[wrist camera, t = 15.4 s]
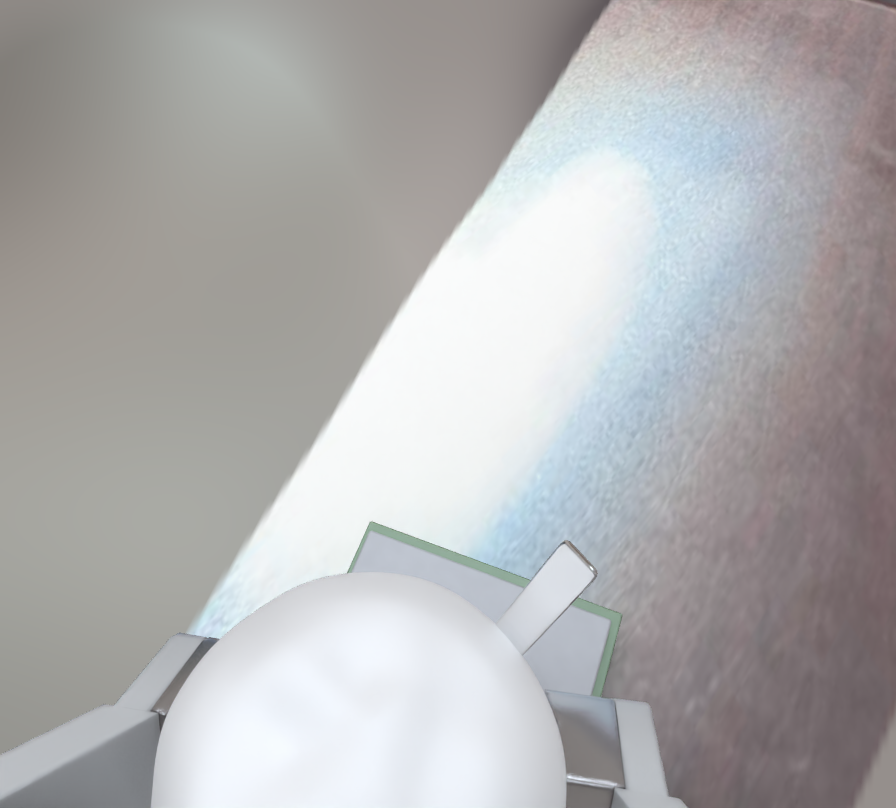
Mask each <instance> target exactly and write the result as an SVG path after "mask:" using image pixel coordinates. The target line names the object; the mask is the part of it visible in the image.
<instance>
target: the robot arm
mask: <svg viewBox="0 0 896 808" xmlns="http://www.w3.org/2000/svg"><path fill="white" fill-rule="evenodd" d="M218 640H219V639H216V638H211V637H209V638H206V637H201V636H196V635H190V634H184V633H178V634H176V635H173V636H172V637H170V639H168V641H167V642H166V643H165V645H163V647H162V648H161V649H160V650H159V651H158V653H157V654H156V655H155V656H154V657H153V659H152V660H151V661H150V662H149V663H148V665H147V666H146V667H145V668H144V669H143V671H142V672H141V673H140V674H139V675H138V677H137V678H136V679H135V680H134V681H133V683H132V684H131V685H130V686H129V687H128V689H127V690H126V691H125V692H124V693H123V694H122V696H121V697H120V698H119V699H118V700H117V702H116V703H115V704H114V705H106V704H103V705H101V706H99V707H97V708H95V709H93V710H91V711H89V712H87V713H85V714H83V715H81V716H79V717H76V718H74V719H73V720H70V721H68V722H66V723H64V724H62V725H60V726H58V727H56V728H54V729H52V730H50V731H48V732H46V733H44V734H42V735H40V736H37V737H36V738H33V739H31V740H29V741H27V742H25V743H23V744H21V745H19V746H17V747H15V748H13V749H11V750H9V751H7V752H5V753H3V754H1V755H0V808H151V798H152V787H153V776H154V766H155V758H156V752H157V747H158V742H159V738H160V734H161V730H162V727H163V724H164V721H165V718H166V716H167V714H168V711H169V709H170V707H171V705H172V703H173V701H174V699H175V698H176V696H177V694H178V692H179V691H180V689H181V687H182V686H183V684H184V683H185V681H186V680H187V678H188V676H189V675H190V674H191V672H192V671H193V669H194V668H195V667H196V665H197V664H198V663H199V661H200V660H201V659H202V658H203V657H204V655H205V654H206V653H207V652H208V651H209V650H210V649H211V648H212V646H213V645H214V644H215V643H216V642H217V641H218ZM544 693H545V695H546V697H547V699H548V702H549V704H550V706H551V709H552V711H553V714H554V717H555V719H556V723H557V726H558V729H559V733H560V736H561V741H562V745H563V751H564V757H565V766H566V808H688V807H687V806H686V805H685V803H684V802H683V801H682V800H681V799H680V798H674V797H669V793H668V788H667V783H666V778H665V774H664V769H663V764H662V759H661V754H660V749H659V744H658V739H657V734H656V729H655V724H654V719H653V715H652V710H651V707H650V706H649V704H648V703H647V702H640V701H632V700H624V699H617V698H613V699H611V698H604V697H597V696H590V695H583V694H576V693H569V692H562V691H555V690H548V689H545V692H544Z"/></svg>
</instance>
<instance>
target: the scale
mask: <svg viewBox="0 0 896 808" xmlns="http://www.w3.org/2000/svg"><path fill="white" fill-rule="evenodd" d="M355 572H386V573H396V574H403V575H408V576H413V577H417V578H421V579H424V580H427V581H430V582H433V583H435V584H438V585H440V586H442V587H444V588H447V589H448V590H450V591H452V592H454V593H456V594H457V595H459V596H461V597H462V598H464V599H465V600H467V601H468V602H470V603H471V604H472V605H474V606H475V607H476V608H478V609H479V610H480V611H481V612H483V613H484V614H485V615H486V616H487V617H489V618H490V619H491V620H492V621H493V622H494V623H495V624H496V622H497V621H498V620H499V619H500V618H501V616H502V615H503V614H504V613H505V611H506V610H507V609H508V608H509V606H510V605H511V604H512V603H513V601H514V600H515V599H516V598H517V596H518V595H519V594H520V593H521V591H522V590H523V589H524V588H525V586H526V585H527V584H528V583H529V582H530V580H529V579H526V578H524V577H521V576H518V575H515V574H513V573H510V572H507V571H505V570H502V569H499V568H497V567H494V566H491V565H488V564H486V563H483V562H480V561H478V560H475V559H472V558H469V557H467V556H464V555H461V554H459V553H456V552H453V551H450V550H448V549H445V548H442V547H440V546H437V545H434V544H432V543H429V542H426V541H423V540H421V539H418V538H415V537H413V536H410V535H407V534H404V533H402V532H399V531H396V530H394V529H391V528H388V527H386V526H383V525H380V524H377V523H375V522H370V523H369V525H368V527H367V530H366V532H365V534H364V536H363V539H362V541H361V543H360V545H359V548H358V550H357V552H356V554H355V557H354V559H353V561H352V563H351V566H350V568H349V570H348V572H347V573H355ZM621 619H622V614H621V613H618V612H616V611H613V610H610V609H608V608H605V607H602V606H599V605H597V604H594V603H591V602H589V601H586V600H583V599H580V598H577V599H576V600H575V601H574V602H573V603H572V604H571V605H570V607H569V608H568V609H567V610H566V611H565V612H564V613H563V614H562V615H561V616H560V617H559V618H558V619H557V620H556V621H555V622H554V623H553V624H552V625H551V627H550V628H549V629H548V630H547V631H546V632H545V633H544V634H543V635H542V636H541V637H540V638H539V639H538V640H537V641H536V642H535V643H534V644H533V645H532V647H531V648H530V649H529V650H528V651H527V652H526V653H525V654H524V655H523V657H524V658H525V660H526V661H527V663H528V664H529V666H530V668H531V669H532V671H533V672H534V674H535V676H536V678H537V679H538V681H539V683H540V685H541V687H542V689H543V691H544V692H545V689H548V690H555V691H562V692H569V693H576V694H583V695H590V696H597V697H601V695H602V691H603V687H604V684H605V680H606V676H607V672H608V668H609V665H610V661H611V657H612V653H613V650H614V646H615V642H616V638H617V634H618V631H619V627H620V623H621Z"/></svg>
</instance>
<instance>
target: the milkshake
mask: <svg viewBox="0 0 896 808" xmlns="http://www.w3.org/2000/svg"><path fill="white" fill-rule="evenodd" d="M597 574H598V573H597V570H596V568H595V567H594V566H593V565H592V564H591V563H590V562H589V561H588V560H587V559H586V557H585V556H584V555H583V554H582V553H581V552H580V551H579V550H578V549H577V548H576V547H575V546H574V545H573V544H572V543H571V542H570V541H568V540H565V541H563V542H562V543H561V544H560V545H559V546H558V547H557V548H556V549H555V551H554V552H553V553H552V554H551V555H550V557H549V558H548V559H547V560H546V562H545V563H544V564H543V565H542V567H541V568H540V569H539V570H538V572H537V573H536V574H535V575H534V577H533V578H532V579H531V580H530V582H529V583H528V584H527V585H526V586H525V588H524V589H523V590H522V591H521V593H520V594H519V595H518V596H517V598H516V599H515V600H514V601H513V603H512V604H511V605H510V606H509V608H508V609H507V610H506V611H505V613H504V614H503V615H502V616H501V618H500V619H499V620H498V621H497V622H496V624H495V623H494V622H493V621H492V620H491V619H490V618H489V617H487V616H486V615H485V614H484V613H483V612H481V611H480V610H479V609H478V608H476V607H475V606H474V605H472V604H471V603H470V602H468V601H467V600H465V599H464V598H462V597H461V596H459V595H457V594H456V593H454V592H452V591H450V590H448V589H447V588H444V587H442V586H440V585H438V584H435V583H433V582H430V581H427V580H424V579H421V578H417V577H413V576H408V575H403V574H396V573H386V572H355V573H345V574H338V575H333V576H328V577H323V578H319V579H316V580H312V581H309V582H306V583H304V584H301V585H299V586H297V587H294V588H292V589H290V590H288V591H286V592H285V593H283V594H281V595H279V596H278V597H276V598H274V599H273V600H271V601H270V602H268V603H266V604H265V605H263V606H262V607H260V608H259V609H257V610H256V611H255V612H253V613H252V614H250V615H249V616H248V617H246V618H245V619H244V620H242V621H241V622H240V623H238V624H237V625H236V626H234V627H233V628H232V629H231V630H230V631H228V632H227V633H226V634H225V635H224V636H223V637H222V638H220V639H219V640H218V641H217V642H216V643H215V644H214V645H213V646H212V648H211V649H210V650H209V651H208V652H207V653H206V654H205V655H204V657H203V658H202V659H201V660H200V661H199V663H198V664H197V665H196V667H195V668H194V669H193V671H192V672H191V674H190V675H189V676H188V678H187V680H186V681H185V683H184V684H183V686H182V687H181V689H180V691H179V692H178V694H177V696H176V698H175V699H174V701H173V703H172V705H171V707H170V709H169V711H168V714H167V716H166V718H165V721H164V724H163V727H162V730H161V734H160V738H159V742H158V747H157V752H156V758H155V766H154V776H153V787H152V798H151V808H566V766H565V757H564V751H563V745H562V741H561V736H560V733H559V729H558V726H557V723H556V719H555V717H554V714H553V711H552V709H551V706H550V704H549V702H548V699H547V697H546V695H545V693H544V691H543V689H542V687H541V685H540V683H539V681H538V679H537V678H536V676H535V674H534V672H533V671H532V669H531V668H530V666H529V664H528V663H527V661H526V660H525V658H524V657H523V655H524V654H525V653H526V652H527V651H528V650H529V649H530V648H531V647H532V645H533V644H534V643H535V642H536V641H537V640H538V639H539V638H540V637H541V636H542V635H543V634H544V633H545V632H546V631H547V630H548V629H549V628H550V627H551V625H552V624H553V623H554V622H555V621H556V620H557V619H558V618H559V617H560V616H561V615H562V614H563V613H564V612H565V611H566V610H567V609H568V608H569V607H570V605H571V604H572V603H573V602H574V601H575V600H576V599H577V598H578V597H579V596H580V595H581V594H582V593H583V592H584V591H585V590H586V589H587V588H588V586H589V585H590V584H591V583H592V582H593V581H594V580H595V578H596V577H597Z"/></svg>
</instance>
